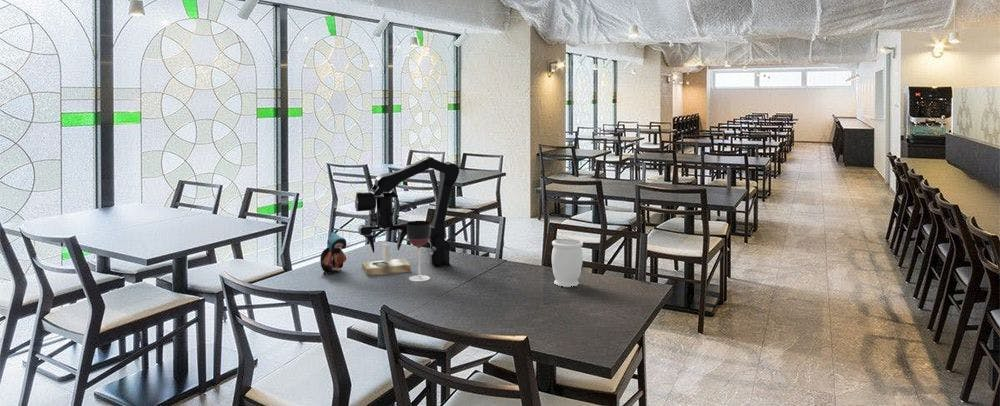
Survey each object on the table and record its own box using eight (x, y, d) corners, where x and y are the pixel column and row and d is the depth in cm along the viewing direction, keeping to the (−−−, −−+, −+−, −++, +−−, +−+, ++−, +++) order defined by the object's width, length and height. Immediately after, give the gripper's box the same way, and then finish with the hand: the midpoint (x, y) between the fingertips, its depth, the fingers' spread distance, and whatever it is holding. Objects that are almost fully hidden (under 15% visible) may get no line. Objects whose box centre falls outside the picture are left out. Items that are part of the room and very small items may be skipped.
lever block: (404, 264, 246) (403, 257, 246) (410, 271, 237) (410, 264, 236) (362, 268, 240) (361, 261, 240) (367, 275, 231) (366, 268, 230)
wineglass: (435, 276, 231) (434, 221, 227) (422, 282, 223) (421, 226, 219) (416, 273, 234) (415, 219, 231) (403, 280, 226) (401, 224, 223)
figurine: (331, 277, 229) (329, 236, 227) (317, 274, 233) (315, 233, 231) (351, 270, 238) (350, 231, 235) (338, 267, 241) (336, 228, 239)
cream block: (386, 260, 241) (385, 243, 240) (389, 264, 236) (389, 246, 234) (370, 262, 239) (370, 244, 238) (374, 266, 233) (373, 247, 232)
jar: (584, 281, 225) (585, 239, 223) (578, 290, 216) (579, 246, 213) (555, 278, 229) (556, 237, 226) (547, 286, 219) (548, 243, 216)
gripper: (404, 204, 245) (405, 244, 248) (355, 207, 238) (356, 248, 241) (411, 209, 235) (412, 250, 238) (360, 212, 228) (362, 255, 231)
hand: (385, 251), depth 237 cm, fingers open, 9 cm apart
